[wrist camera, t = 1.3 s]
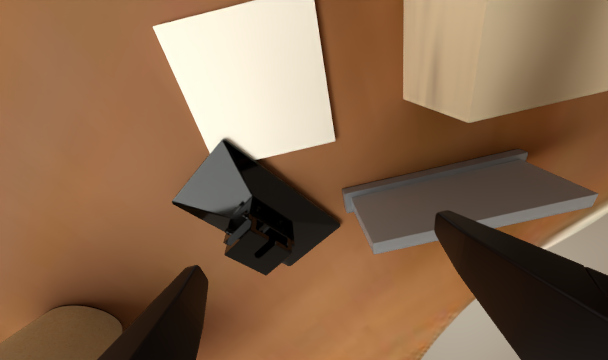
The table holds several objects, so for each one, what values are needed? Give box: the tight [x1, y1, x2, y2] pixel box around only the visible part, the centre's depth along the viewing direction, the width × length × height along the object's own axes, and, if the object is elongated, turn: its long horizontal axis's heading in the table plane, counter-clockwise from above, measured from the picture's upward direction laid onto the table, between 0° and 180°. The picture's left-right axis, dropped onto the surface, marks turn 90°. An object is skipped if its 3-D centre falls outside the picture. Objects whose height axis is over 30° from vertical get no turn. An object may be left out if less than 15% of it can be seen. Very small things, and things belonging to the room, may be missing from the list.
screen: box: [342, 149, 598, 254], centre depth 17 cm, size 15×2×6 cm, turn 102°
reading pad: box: [153, 0, 335, 160], centre depth 15 cm, size 9×9×1 cm
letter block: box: [403, 0, 608, 123], centre depth 12 cm, size 6×7×6 cm
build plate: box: [172, 139, 340, 275], centre depth 18 cm, size 12×7×5 cm, turn 46°
